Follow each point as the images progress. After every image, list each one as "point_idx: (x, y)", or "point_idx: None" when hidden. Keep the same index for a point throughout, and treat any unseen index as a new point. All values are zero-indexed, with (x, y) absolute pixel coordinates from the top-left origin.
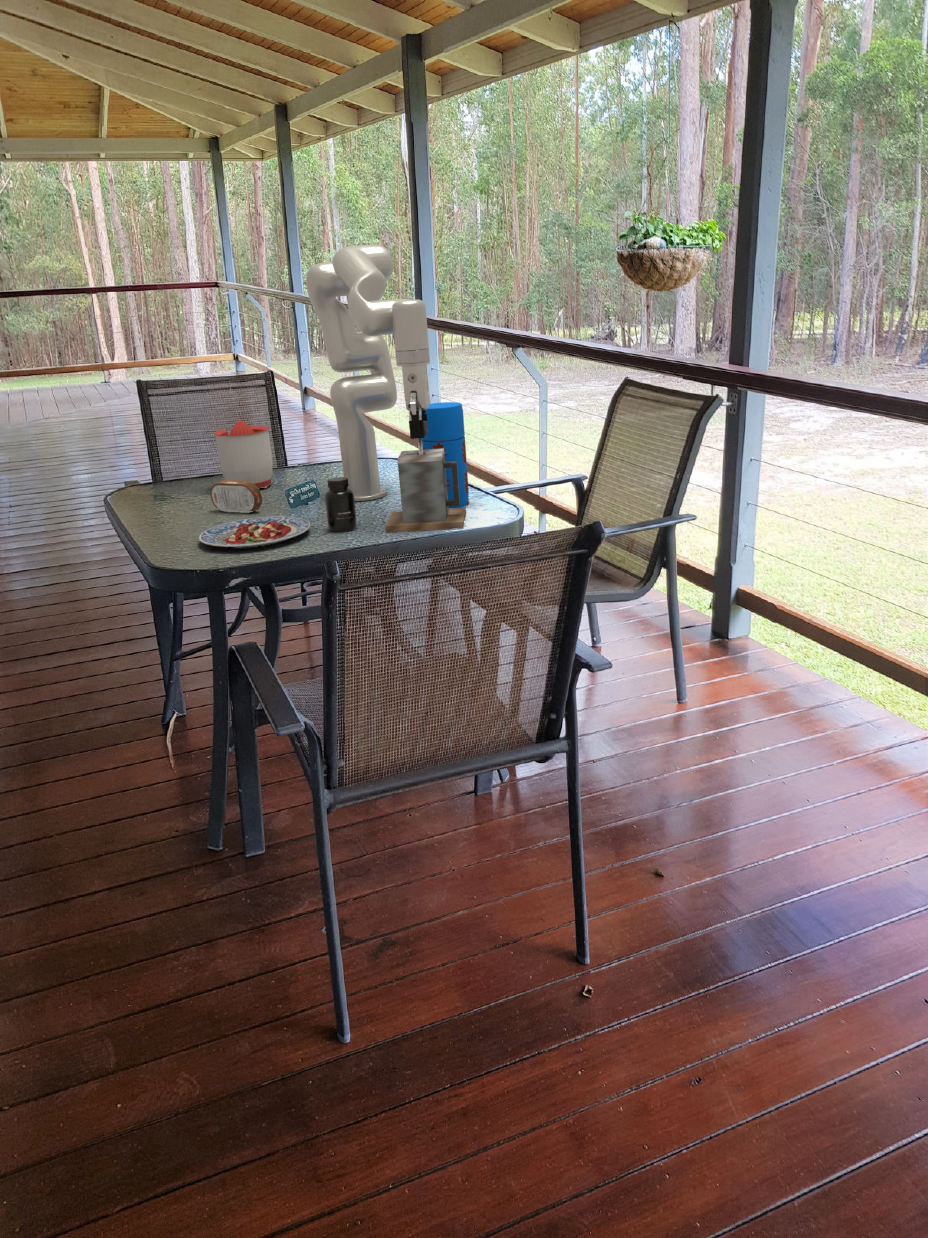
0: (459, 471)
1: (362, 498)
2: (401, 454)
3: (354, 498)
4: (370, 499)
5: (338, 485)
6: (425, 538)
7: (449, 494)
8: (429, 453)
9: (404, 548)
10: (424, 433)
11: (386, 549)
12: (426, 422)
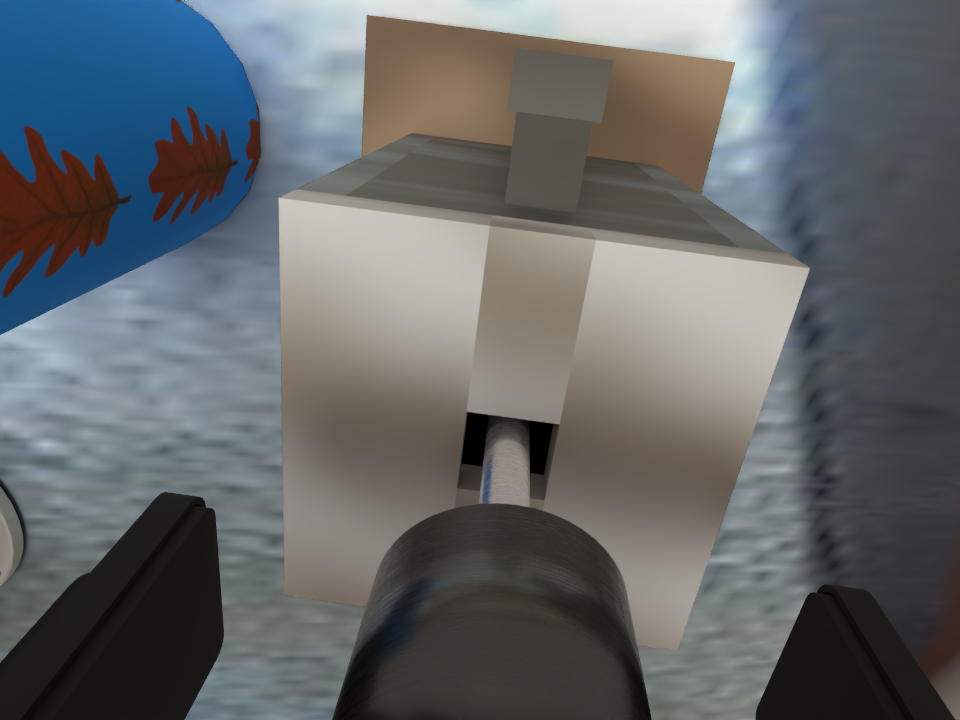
0: (82, 13)
1: (11, 524)
2: None
3: (15, 554)
4: (1, 489)
5: None
6: (825, 282)
7: (223, 116)
8: (543, 379)
9: (949, 382)
10: (611, 579)
11: (916, 452)
12: (566, 686)
